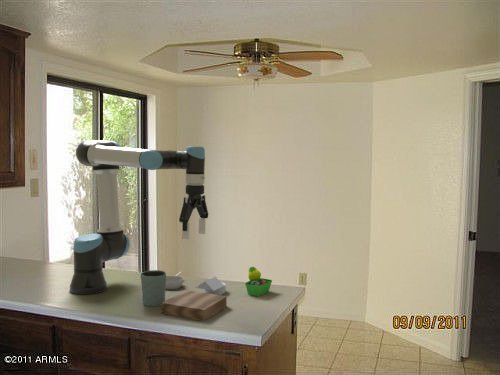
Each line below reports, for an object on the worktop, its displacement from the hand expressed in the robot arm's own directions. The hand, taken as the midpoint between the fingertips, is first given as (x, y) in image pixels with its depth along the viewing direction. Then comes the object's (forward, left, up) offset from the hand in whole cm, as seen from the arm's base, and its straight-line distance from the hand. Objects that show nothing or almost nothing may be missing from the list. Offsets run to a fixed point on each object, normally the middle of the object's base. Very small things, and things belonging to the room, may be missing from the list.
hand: (194, 236), depth 192 cm
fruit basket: (+21, +19, -26) cm, 38 cm away
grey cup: (-11, -12, -26) cm, 31 cm away
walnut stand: (+8, -12, -26) cm, 30 cm away
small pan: (-18, +14, -26) cm, 35 cm away
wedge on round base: (+4, +10, -26) cm, 28 cm away
